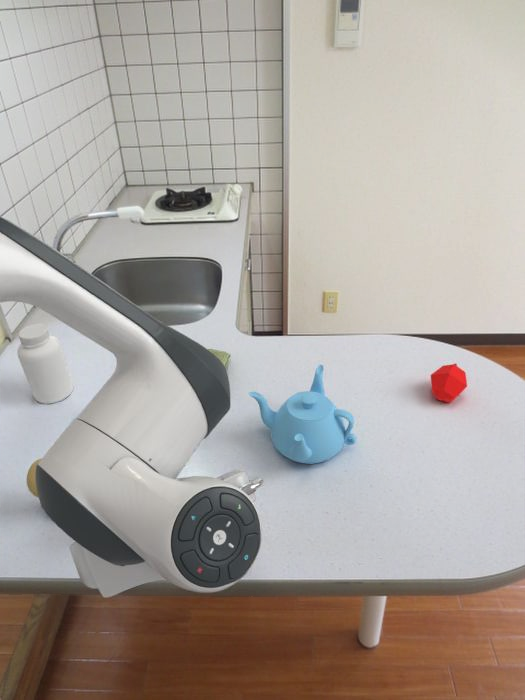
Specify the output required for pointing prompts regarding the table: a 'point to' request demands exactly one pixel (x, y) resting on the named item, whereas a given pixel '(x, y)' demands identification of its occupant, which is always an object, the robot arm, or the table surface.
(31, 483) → the light bulb
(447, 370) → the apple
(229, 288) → the table surface
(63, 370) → the pill bottle
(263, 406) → the teapot
